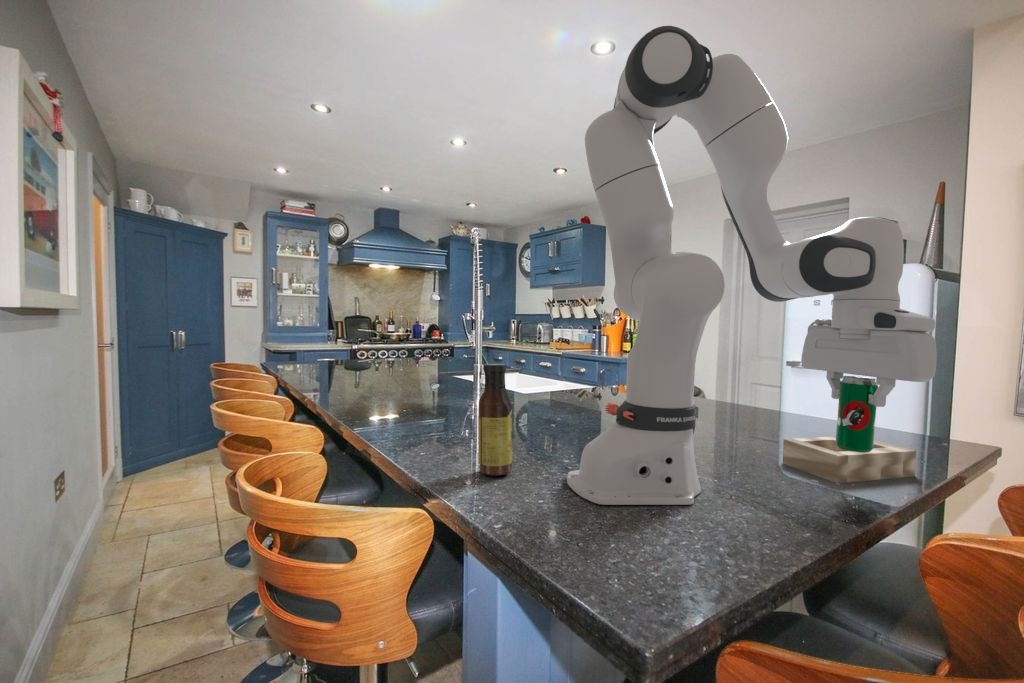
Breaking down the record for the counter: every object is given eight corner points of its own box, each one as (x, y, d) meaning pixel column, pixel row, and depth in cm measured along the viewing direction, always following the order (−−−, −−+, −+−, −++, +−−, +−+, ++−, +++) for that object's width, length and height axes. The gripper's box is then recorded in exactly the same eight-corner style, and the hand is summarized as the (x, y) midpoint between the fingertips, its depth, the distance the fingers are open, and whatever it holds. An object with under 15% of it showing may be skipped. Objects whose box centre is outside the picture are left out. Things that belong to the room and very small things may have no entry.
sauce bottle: (518, 473, 85) (520, 365, 84) (489, 479, 81) (491, 366, 81) (499, 464, 90) (501, 362, 90) (471, 469, 87) (472, 363, 86)
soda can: (880, 454, 75) (886, 380, 74) (849, 452, 75) (855, 378, 75) (857, 446, 80) (863, 376, 80) (828, 444, 80) (833, 374, 80)
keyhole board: (836, 483, 82) (838, 455, 82) (782, 463, 94) (783, 439, 94) (914, 477, 87) (916, 450, 86) (853, 458, 98) (854, 435, 98)
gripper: (795, 317, 86) (789, 392, 86) (915, 317, 66) (907, 414, 67) (823, 319, 87) (817, 393, 88) (948, 320, 68) (940, 414, 68)
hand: (857, 402), depth 77 cm, fingers closed on soda can, 5 cm apart
